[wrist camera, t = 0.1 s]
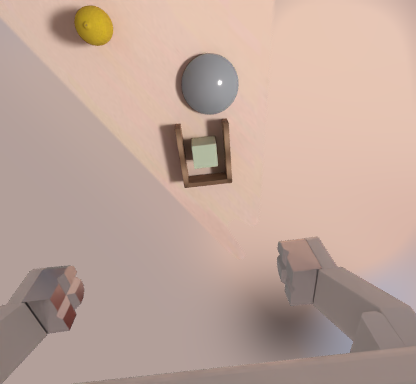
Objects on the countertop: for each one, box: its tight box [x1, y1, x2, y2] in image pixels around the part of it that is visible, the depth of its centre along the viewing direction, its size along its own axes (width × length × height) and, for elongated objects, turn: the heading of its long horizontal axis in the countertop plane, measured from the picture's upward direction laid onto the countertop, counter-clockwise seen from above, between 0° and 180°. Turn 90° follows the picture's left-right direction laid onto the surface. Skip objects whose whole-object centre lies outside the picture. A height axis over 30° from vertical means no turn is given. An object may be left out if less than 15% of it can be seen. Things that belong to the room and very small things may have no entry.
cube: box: [192, 136, 218, 169], centre depth 57 cm, size 5×5×5 cm
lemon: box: [74, 6, 113, 46], centre depth 43 cm, size 6×6×8 cm
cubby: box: [175, 118, 232, 188], centre depth 58 cm, size 14×11×4 cm
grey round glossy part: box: [182, 53, 238, 114], centre depth 52 cm, size 11×11×1 cm
